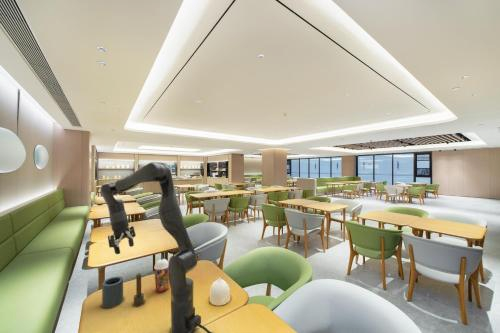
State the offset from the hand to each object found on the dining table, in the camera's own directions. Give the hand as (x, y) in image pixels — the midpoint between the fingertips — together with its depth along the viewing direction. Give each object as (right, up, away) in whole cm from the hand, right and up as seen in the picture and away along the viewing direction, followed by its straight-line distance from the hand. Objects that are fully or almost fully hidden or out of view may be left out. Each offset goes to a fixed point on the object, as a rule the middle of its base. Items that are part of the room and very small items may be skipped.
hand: (125, 249), depth 111 cm
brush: (+8, -26, -2) cm, 28 cm away
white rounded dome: (+50, -27, +1) cm, 56 cm away
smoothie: (+15, -27, +10) cm, 32 cm away
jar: (-5, -26, -2) cm, 27 cm away
